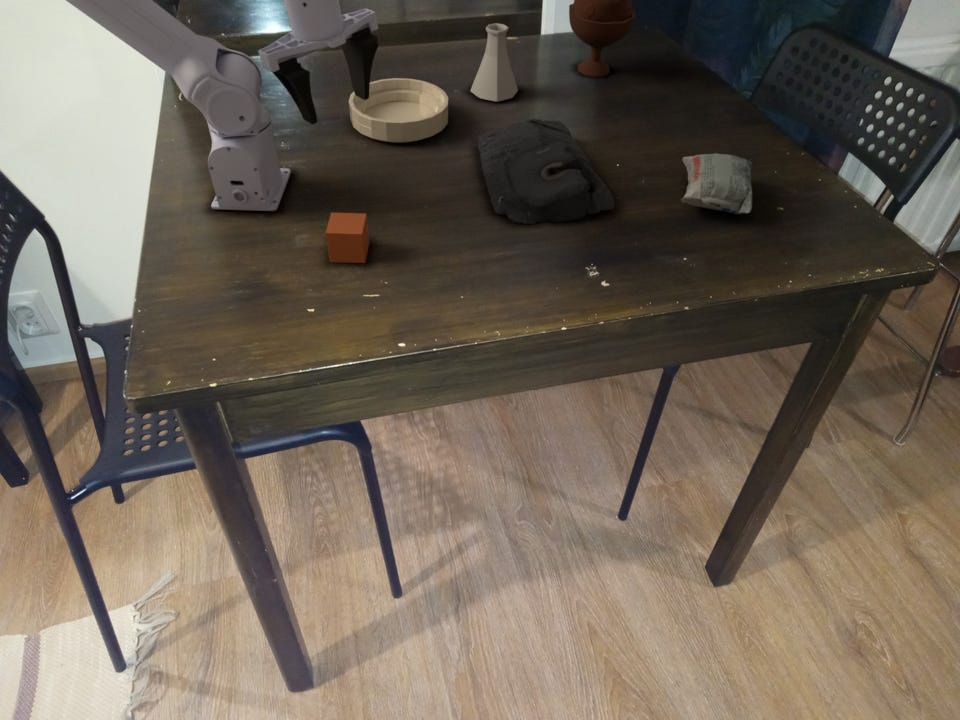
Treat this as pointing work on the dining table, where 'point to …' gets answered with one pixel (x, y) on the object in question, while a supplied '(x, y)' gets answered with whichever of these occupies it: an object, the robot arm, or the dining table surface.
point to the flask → (495, 68)
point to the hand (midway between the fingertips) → (336, 108)
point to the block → (347, 237)
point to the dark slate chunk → (540, 174)
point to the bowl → (400, 110)
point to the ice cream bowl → (600, 28)
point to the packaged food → (719, 183)
